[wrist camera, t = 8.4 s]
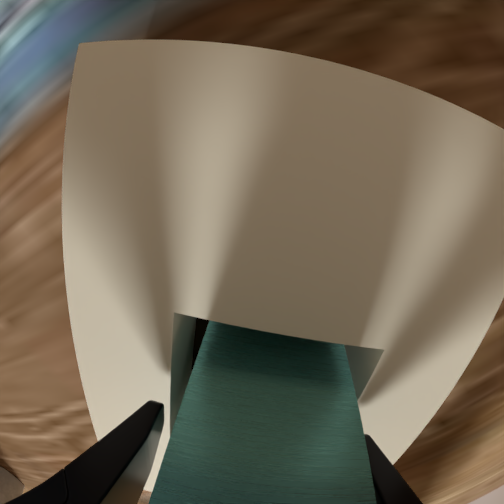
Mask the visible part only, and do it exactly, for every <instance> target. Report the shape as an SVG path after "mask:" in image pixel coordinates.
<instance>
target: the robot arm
mask: <svg viewBox="0 0 504 504" xmlns="http://www.w3.org/2000/svg"><path fill="white" fill-rule="evenodd" d="M163 426H164V404H163V403H160V402H157V401H153V400H149V401H148V402H146V403H145V404H144V405H143V406H141V407H140V408H139V409H138V410H137V411H135V412H134V413H133V414H132V415H130V416H129V417H128V418H127V419H125V420H124V421H123V422H122V423H121V424H119V425H118V426H117V427H116V428H114V429H113V430H112V431H111V432H109V433H108V434H107V435H106V436H104V437H103V438H102V439H100V440H99V441H98V442H97V443H95V444H94V445H93V446H92V447H90V448H89V449H88V450H86V451H85V452H84V453H83V454H81V455H80V456H79V457H77V458H76V459H75V460H73V461H72V462H71V463H70V464H68V465H67V466H66V467H65V468H64V469H65V470H64V469H61V470H60V471H59V472H57V473H56V474H55V475H53V476H52V477H51V478H49V479H48V480H46V481H45V482H43V483H42V484H40V485H38V486H37V487H35V488H33V489H31V490H30V491H28V492H26V493H24V494H22V495H20V496H18V497H16V498H14V499H12V500H10V501H8V502H6V503H4V504H137V503H138V500H139V498H140V496H141V493H142V491H143V489H144V486H145V484H146V482H147V479H148V477H149V474H150V472H151V469H152V466H153V462H154V459H155V455H156V451H157V448H158V444H159V441H160V437H161V433H162V430H163ZM364 436H365V441H366V446H367V451H368V457H369V462H370V468H371V473H372V479H373V485H374V491H375V498H376V504H423V503H422V502H421V501H420V499H419V498H418V497H417V496H416V494H415V493H414V492H413V490H412V489H411V488H410V487H409V485H408V484H407V483H406V482H405V480H404V479H403V478H402V476H401V475H400V474H399V473H398V471H397V470H396V469H395V467H394V466H393V465H392V463H391V462H390V461H389V460H388V458H387V457H386V456H385V454H384V453H383V452H382V451H381V449H380V448H379V447H378V445H377V444H376V443H375V441H374V440H373V439H372V438H371V436H370V435H368V434H364Z"/></svg>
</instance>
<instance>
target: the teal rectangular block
mask: <svg viewBox="0 0 504 504" xmlns="http://www.w3.org/2000/svg"><path fill="white" fill-rule="evenodd" d="M149 504H376V498H375V491H374V485H373V479H372V473H371V468H370V462H369V457H368V451H367V446H366V441H365V436H364V431H363V426H362V421H361V416H360V411H359V407H358V402H357V397H356V393H355V388H354V384H353V380H352V375H351V371H350V367H349V363H348V358H347V354H346V350H345V346H344V344H338V343H331V342H324V341H318V340H311V339H305V338H299V337H293V336H287V335H282V334H276V333H271V332H265V331H260V330H255V329H249V328H244V327H239V326H234V325H229V324H225V323H220V322H215V321H209V323H208V326H207V329H206V332H205V335H204V338H203V341H202V344H201V347H200V350H199V352H198V355H197V358H196V361H195V364H194V367H193V370H192V373H191V376H190V379H189V382H188V385H187V388H186V391H185V394H184V397H183V400H182V403H181V406H180V409H179V412H178V415H177V418H176V421H175V424H174V427H173V430H172V433H171V436H170V439H169V442H168V445H167V448H166V451H165V454H164V457H163V460H162V463H161V466H160V469H159V473H158V476H157V479H156V482H155V485H154V488H153V491H152V494H151V498H150V501H149Z"/></svg>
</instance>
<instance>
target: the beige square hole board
mask: <svg viewBox="0 0 504 504" xmlns="http://www.w3.org/2000/svg"><path fill="white" fill-rule="evenodd" d="M62 236H63V255H64V269H65V281H66V290H67V299H68V307H69V315H70V322H71V328H72V334H73V340H74V346H75V352H76V357H77V362H78V367H79V371H80V376H81V381H82V385H83V389H84V393H85V397H86V401H87V405H88V409H89V412H90V416H91V420H92V423H93V427H94V430H95V433H96V436H97V440H98V441H99V440H100V439H102V438H103V437H104V436H106V435H107V434H108V433H109V432H111V431H112V430H113V429H114V428H116V427H117V426H118V425H119V424H121V423H122V422H123V421H124V420H125V419H127V418H128V417H129V416H130V415H132V414H133V413H134V412H135V411H137V410H138V409H139V408H140V407H141V406H143V405H144V404H145V403H146V402H148V401H149V400H153V401H157V402H160V403H163V404H164V426H163V430H162V433H161V437H160V441H159V444H158V448H157V451H156V455H155V459H154V462H153V466H152V469H151V472H150V474H149V477H148V479H147V482H146V484H145V486H144V490H147V491H150V492H152V491H153V488H154V485H155V482H156V479H157V476H158V473H159V469H160V466H161V463H162V460H163V457H164V454H165V451H166V448H167V445H168V442H169V439H170V436H171V433H172V430H173V427H174V424H175V421H176V418H177V415H178V412H179V409H180V406H181V403H182V400H183V397H184V394H185V391H186V388H187V385H188V382H189V379H190V376H191V369H192V359H193V348H194V338H195V329H196V320H197V318H201V319H206V320H210V321H215V322H220V323H225V324H229V325H234V326H239V327H244V328H249V329H255V330H260V331H265V332H271V333H276V334H282V335H287V336H293V337H299V338H305V339H311V340H318V341H324V342H331V343H338V344H344V346H345V350H346V354H347V358H348V363H349V367H350V371H351V375H352V380H353V384H354V388H355V393H356V397H357V402H358V407H359V411H360V416H361V421H362V426H363V431H364V434H368V435H370V436H371V438H372V439H373V440H374V441H375V443H376V444H377V445H378V447H379V448H380V449H381V451H382V452H383V453H384V454H385V456H386V457H387V458H388V460H389V461H390V462H391V463H392V465H393V464H394V463H395V462H396V461H397V460H398V459H399V458H400V457H401V455H402V454H403V453H404V452H405V451H406V450H407V449H408V447H409V446H410V445H411V444H412V443H413V441H414V440H415V439H416V438H417V436H418V435H419V434H420V433H421V432H422V430H423V429H424V428H425V426H426V425H427V424H428V423H429V421H430V420H431V419H432V417H433V416H434V415H435V413H436V412H437V411H438V409H439V408H440V406H441V405H442V404H443V402H444V401H445V399H446V398H447V396H448V395H449V394H450V392H451V391H452V389H453V388H454V386H455V385H456V383H457V381H458V380H459V378H460V377H461V375H462V374H463V372H464V370H465V369H466V367H467V366H468V364H469V362H470V361H471V359H472V357H473V356H474V354H475V352H476V350H477V349H478V347H479V345H480V343H481V341H482V340H483V338H484V336H485V334H486V332H487V330H488V328H489V327H490V325H491V323H492V321H493V319H494V317H495V315H496V313H497V311H498V308H499V306H500V304H501V302H502V300H503V298H504V129H502V128H501V127H499V126H497V125H495V124H493V123H491V122H489V121H487V120H486V119H484V118H482V117H480V116H478V115H476V114H474V113H472V112H470V111H467V110H465V109H463V108H461V107H459V106H457V105H455V104H452V103H450V102H448V101H446V100H443V99H441V98H439V97H436V96H434V95H431V94H429V93H427V92H424V91H421V90H419V89H416V88H414V87H411V86H408V85H406V84H403V83H400V82H397V81H394V80H392V79H389V78H386V77H383V76H379V75H376V74H373V73H370V72H367V71H363V70H360V69H356V68H353V67H349V66H346V65H342V64H338V63H334V62H330V61H326V60H322V59H318V58H313V57H309V56H304V55H299V54H294V53H289V52H284V51H278V50H272V49H266V48H259V47H252V46H245V45H237V44H228V43H217V42H205V41H189V40H115V41H100V42H88V43H79V46H78V51H77V56H76V61H75V66H74V71H73V77H72V83H71V89H70V96H69V103H68V111H67V120H66V129H65V140H64V154H63V173H62Z"/></svg>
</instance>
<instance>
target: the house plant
mask: <svg viewBox="0 0 504 504" xmlns="http://www.w3.org/2000/svg"><path fill="white" fill-rule="evenodd" d="M23 490H24V485H23V484H22V483H21V482H20V481H19V480H18V479H17V478H16V477H15V476H13V475H12V474H11V473H9V472H8V471H7V470H5V469H4V468H2V467H1V466H0V504H4V503H6V502H8V501H10V500H12V499H14V498H16V497H18V496H20V495H22V493H23Z"/></svg>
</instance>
